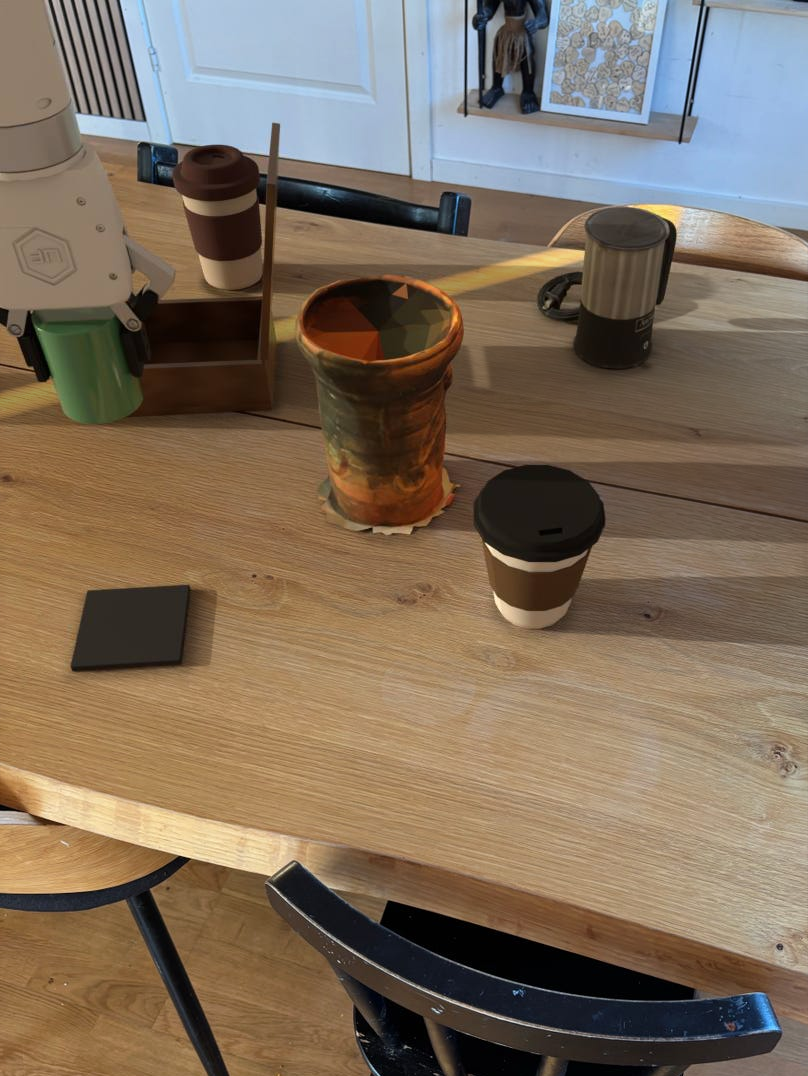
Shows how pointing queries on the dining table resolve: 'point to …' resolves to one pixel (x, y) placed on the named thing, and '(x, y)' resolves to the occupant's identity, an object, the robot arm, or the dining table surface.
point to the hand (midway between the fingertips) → (92, 368)
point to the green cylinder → (88, 363)
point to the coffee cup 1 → (222, 213)
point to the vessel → (382, 397)
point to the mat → (132, 628)
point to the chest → (207, 357)
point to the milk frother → (616, 286)
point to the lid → (269, 239)
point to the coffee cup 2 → (537, 539)
